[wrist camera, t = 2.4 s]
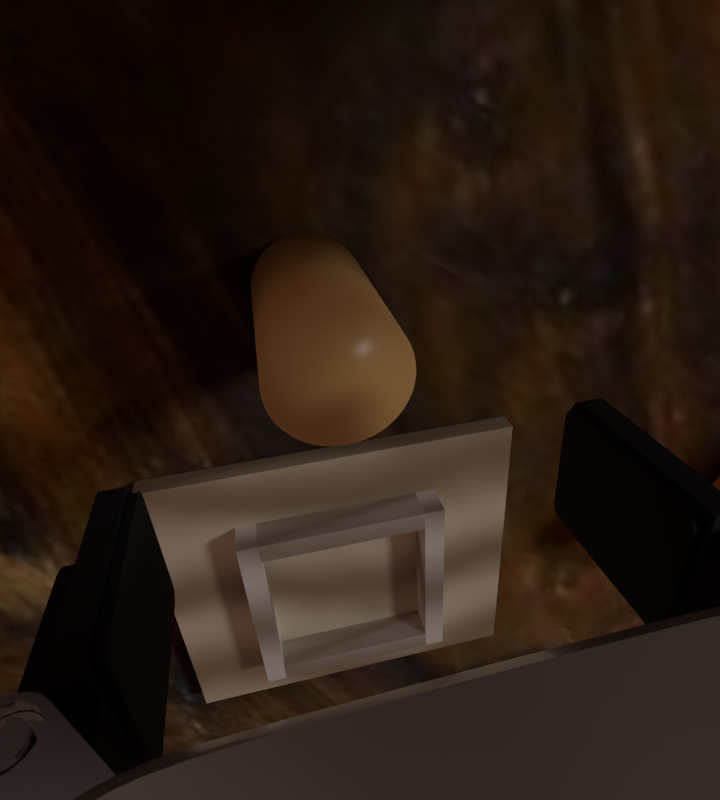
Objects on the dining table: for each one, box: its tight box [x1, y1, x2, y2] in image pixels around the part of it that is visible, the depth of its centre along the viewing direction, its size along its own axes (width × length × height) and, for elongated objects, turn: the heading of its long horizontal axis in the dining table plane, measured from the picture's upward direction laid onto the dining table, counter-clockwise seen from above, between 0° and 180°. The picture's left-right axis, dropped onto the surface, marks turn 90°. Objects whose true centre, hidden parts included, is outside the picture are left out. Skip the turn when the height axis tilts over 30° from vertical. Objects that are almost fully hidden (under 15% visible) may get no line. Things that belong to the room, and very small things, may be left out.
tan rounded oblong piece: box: [251, 232, 416, 446], centre depth 19 cm, size 4×4×8 cm
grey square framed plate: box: [132, 416, 513, 703], centre depth 29 cm, size 16×18×3 cm
